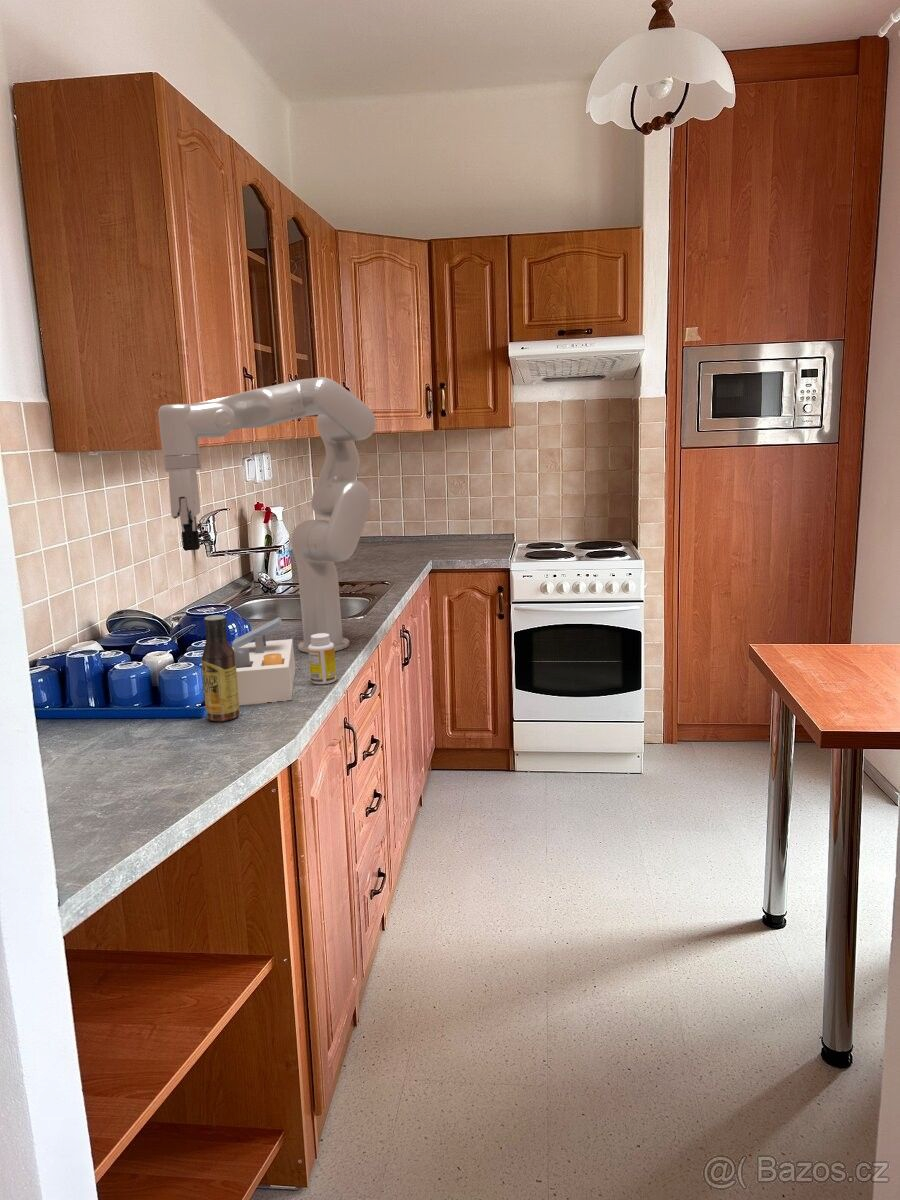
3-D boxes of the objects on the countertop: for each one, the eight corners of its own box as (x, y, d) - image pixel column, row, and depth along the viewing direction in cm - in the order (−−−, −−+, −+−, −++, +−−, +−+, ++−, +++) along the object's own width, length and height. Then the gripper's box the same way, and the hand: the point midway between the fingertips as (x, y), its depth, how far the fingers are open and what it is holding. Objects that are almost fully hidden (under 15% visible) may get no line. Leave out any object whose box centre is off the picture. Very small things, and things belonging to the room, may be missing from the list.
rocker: (239, 648, 194) (234, 639, 194) (284, 625, 195) (279, 616, 194) (237, 654, 189) (231, 645, 188) (283, 631, 189) (278, 622, 189)
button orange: (267, 689, 184) (264, 654, 182) (285, 687, 184) (281, 652, 183) (266, 694, 180) (262, 658, 179) (284, 692, 181) (280, 657, 179)
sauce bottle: (201, 718, 170) (190, 617, 166) (231, 710, 174) (220, 611, 170) (216, 725, 165) (205, 622, 161) (247, 717, 169) (236, 616, 165)
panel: (236, 673, 200) (232, 628, 198) (295, 668, 201) (291, 624, 199) (225, 706, 176) (220, 655, 174) (291, 700, 178) (286, 650, 176)
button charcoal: (235, 684, 183) (231, 649, 181) (252, 682, 183) (249, 647, 182) (233, 689, 179) (229, 653, 178) (251, 687, 180) (247, 652, 178)
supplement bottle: (337, 676, 193) (333, 631, 191) (336, 684, 188) (332, 637, 186) (311, 678, 193) (307, 633, 191) (310, 686, 187) (306, 639, 185)
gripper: (170, 463, 194) (179, 546, 198) (157, 466, 180) (168, 555, 183) (205, 461, 195) (213, 544, 199) (195, 464, 181) (205, 553, 184)
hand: (191, 549), depth 191 cm, fingers closed
